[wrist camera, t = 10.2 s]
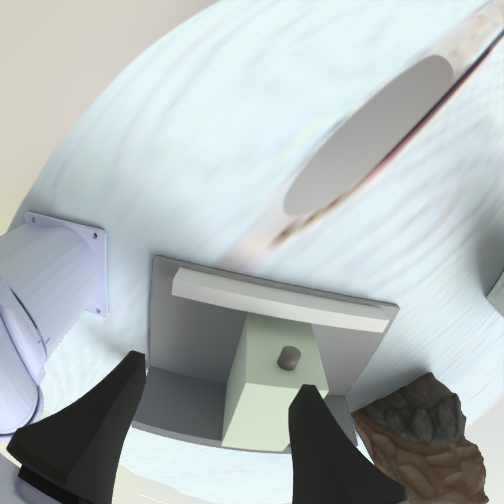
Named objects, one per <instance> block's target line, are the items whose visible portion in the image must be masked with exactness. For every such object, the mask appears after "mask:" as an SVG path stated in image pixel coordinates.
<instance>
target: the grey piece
mask: <svg viewBox="0 0 504 504" xmlns="http://www.w3.org/2000/svg"><path fill="white" fill-rule="evenodd" d="M399 310H400V307H399V306H398V305H394V304H388V303H383V302H377V301H372V300H366V299H361V298H355V297H350V296H345V295H339V294H334V293H329V292H324V291H319V290H314V289H309V288H304V287H299V286H294V285H289V284H284V283H279V282H275V281H270V280H265V279H260V278H256V277H251V276H246V275H242V274H237V273H233V272H228V271H224V270H219V269H215V268H210V267H206V266H201V265H197V264H193V263H188V262H184V261H180V260H175V259H171V258H167V257H163V256H159V255H155V257H154V260H153V273H152V289H151V311H150V368H149V370H148V373H147V376H146V384H145V387H144V391H143V394H142V398H141V401H140V403H139V405H138V408H137V410H136V413H135V415H134V417H133V420H132V422H131V425H132V427H133V428H136V429H139V430H143V431H146V432H149V433H153V434H156V435H160V436H164V437H168V438H172V439H176V440H180V441H185V442H189V443H194V444H200V445H205V446H211V447H217V448H224V449H231V450H239V451H249V452H260V453H277V454H292V453H291V445H290V443H289V444H288V445H287V447H286V448H285V449H284V450H283V451H263V450H251V449H241V448H233V447H225V446H221V442H222V431H223V420H224V409H225V399H226V388H227V382H228V378H229V375H230V372H231V368H232V365H233V361H234V358H235V354H236V351H237V347H238V344H239V341H240V337H241V334H242V330H243V327H244V323H245V320H246V316H247V313H248V312H252V313H257V314H262V315H267V316H273V317H278V318H284V319H289V320H295V321H301V322H307V323H311V324H312V328H313V331H314V335H315V338H316V342H317V346H318V350H319V353H320V357H321V361H322V365H323V368H324V372H325V376H326V380H327V384H328V388H329V392H328V393H327V395H326V396H325V398H324V399H323V400H324V401H325V403H326V405H327V406H328V408H329V410H330V411H331V413H332V415H333V416H334V418H335V419H336V421H337V422H338V424H339V426H340V427H341V428H342V430H343V431H344V433H345V434H346V435H347V437H348V438H349V439H350V441H351V442H352V443H353V444H354V445H355V447H356V446H358V443H357V439H356V435H355V431H354V428H353V424H352V420H351V417H350V413H349V410H348V406H347V402H346V399H345V396H344V395H345V394H346V393H347V391H348V390H349V389H350V387H351V386H352V385H353V383H354V382H355V380H356V379H357V378H358V376H359V375H360V373H361V372H362V370H363V369H364V368H365V366H366V365H367V363H368V362H369V360H370V359H371V357H372V355H373V354H374V352H375V351H376V349H377V348H378V346H379V344H380V343H381V341H382V339H383V338H384V336H385V334H386V333H387V331H388V329H389V328H390V326H391V324H392V322H393V321H394V319H395V317H396V315H397V313H398V312H399Z"/></svg>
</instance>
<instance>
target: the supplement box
mask: <svg viewBox="0 0 504 504" xmlns="http://www.w3.org/2000/svg"><path fill="white" fill-rule="evenodd" d="M486 299H487V300H488V301H489V302H490V303H491V304H492V305H493V307H494V308H495V309H496V310H497V311H498V312H499V313H500V315H501V316H502V317H503V318H504V272H503V273H502V275H501V276H500V278H499V280H498V281H497V283H496V284H495V286H494V287H493V289H492V290H491V292H490V293H489V294H488V296H487V298H486Z"/></svg>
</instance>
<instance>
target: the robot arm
mask: <svg viewBox="0 0 504 504" xmlns="http://www.w3.org/2000/svg"><path fill="white" fill-rule="evenodd" d="M94 233H96V234H97V237H96V236H95V235H94ZM99 309H100V310H99ZM85 310H87V311H89V312H92V313H95V314H98V315H101V316H104V317H106V316H107V315H108V314H109V299H108V276H107V233H106V232H105V231H104V230H102V229H98V228H94V227H90V226H86V225H82V224H78V223H73V222H69V221H65V220H61V219H57V218H53V217H49V216H45V215H41V214H37V213H33V212H29V211H28V212H26V213H25V214H24V224H22V225H20V226H18V227H17V228H15V229H13V230H11V231H9V232H8V233H6V234H4V235H2V236H1V237H0V441H5V442H9V444H8V446H7V448H6V449H7V451H8V452H9V453H10V454H11V455H12V456H13V457H14V458H15V459H16V460H17V461H19V462H20V463H21V464H22V466H21V468H19V467H18V466H16V465H15V464H14V463H12V462H11V461H10V460H8V459H7V458H6V457H4V456H3V455H2V454H1V453H0V503H1V504H111V503H112V495H113V488H114V482H115V477H116V472H117V467H118V463H119V458H120V454H121V450H122V447H123V443H124V440H125V437H126V434H127V432H128V429H129V427H130V425H131V422H132V420H133V417H134V415H135V413H136V410H137V408H138V405H139V403H140V401H141V398H142V394H143V391H144V387H145V384H146V369H145V354H143V353H139V352H136V351H133V350H132V351H130V352H129V353H128V355H127V356H126V357H125V358H124V359H123V360H122V361H121V362H120V363H119V364H118V365H117V366H116V367H115V368H114V369H113V370H112V371H111V372H110V373H109V374H108V375H107V376H106V377H105V378H104V379H103V380H102V381H101V382H99V383H98V384H97V385H96V386H95V387H94V388H92V389H91V390H90V391H89V392H87V393H86V394H85V395H84V396H82V397H81V398H79V399H78V400H77V401H75V402H74V403H72V404H71V405H69V406H67V407H66V408H64V409H62V410H61V411H59V412H57V413H55V414H53V415H51V416H49V417H47V418H44V419H42V420H40V419H41V417H42V413H43V409H44V398H43V394H42V390H41V388H40V386H39V385H40V383H41V381H42V380H43V378H44V377H45V375H46V373H45V370H44V364H45V362H46V361H47V360H48V358H49V357H50V356H51V354H52V353H53V351H54V350H55V349H56V347H57V346H58V345H59V343H60V342H61V341H62V339H63V338H64V337H65V335H66V334H67V333H68V332H69V330H70V329H71V328H72V326H73V325H74V324H75V323H76V321H77V320H78V319H79V318H80V316H81V315H82V314H83V313H84V311H85ZM288 429H289V437H290V445H291V453H292V461H293V500H292V504H406V503H407V502H408V500H409V499H408V496H407V492H406V489H405V486H403V485H401V484H400V483H398V482H396V481H395V480H393V479H392V478H390V477H389V476H387V475H386V474H384V473H383V472H382V471H380V470H379V469H378V468H377V467H376V466H375V465H373V464H372V463H371V462H370V461H369V460H368V459H367V458H366V457H365V456H364V455H363V454H362V453H361V452H360V451H359V450H358V449H357V448H356V447H355V445H354V444H353V443H352V442H351V441H350V439H349V438H348V437H347V435H346V434H345V433H344V431H343V430H342V428H341V427H340V426H339V424H338V422H337V421H336V419H335V418H334V416H333V415H332V413H331V411H330V410H329V408H328V406H327V405H326V403H325V401H324V400H323V398H322V396H321V394H320V393H319V391H318V389H317V387H316V386H315V385H309V384H303V385H302V386H301V388H300V390H299V391H298V393H297V395H296V396H295V398H294V400H293V401H292V403H291V404H290V406H289V408H288Z"/></svg>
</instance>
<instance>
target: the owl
mask: <svg viewBox="0 0 504 504" xmlns="http://www.w3.org/2000/svg"><path fill="white" fill-rule="evenodd" d="M351 415H352V417H353V418H354V420H355V429H356V431H357V433H358V434H359V436H360V438H361V440H362V441H363V443H364V445H365V447H366V449H367V451H368V453H369V455H370V458H371V459H372V461H373V463H374V465H375V466H376V467H377V468H378V469H379V470H380V471H382V472H383V473H384V474H386V475H387V476H389V477H390V478H392V479H393V480H395V481H396V482H398V483H400V484H401V485H403V486H405V489H406V492H407V496H408V499H409V500H408V502H407V503H406V504H486V503H488V501H489V499H488V497H487V496H486V495H485V492H484V484H485V478H486V470H485V466H484V465H483V460H484V458H483V457H482V455H481V452H480V451H479V449H478V447H477V445H476V444H473V443H471V442H469V441H468V440H466V439H465V436H464V430H465V423H466V417H465V416H464V415H463V413H462V411H461V402H460V400H459V397H458V396H457V394H456V393H452V392H451V391H450V390H449V389H448V388H447V387H446V386H445V385H444V384H442V383H441V382H439V381H438V380H437V379H435V377H434V375H433V373H432V372H431V373H427V374H425V375H423V376H421V377H420V378H418V379H416V380H415V381H414V382H412V383H411V384H409V385H408V386H404V387H402V388H400V389H399V390H398V391H396V392H394V393H392V394H390V395H389V396H387V397H385V398H382V399H379V400H377V401H375V402H373V403H371V404H369V405H368V406H366V407H364V408H362V409H360V410H358V411H356V412H354V413H352V414H351Z"/></svg>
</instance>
